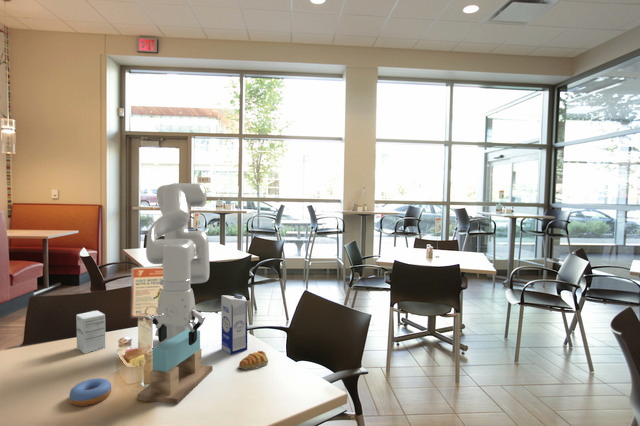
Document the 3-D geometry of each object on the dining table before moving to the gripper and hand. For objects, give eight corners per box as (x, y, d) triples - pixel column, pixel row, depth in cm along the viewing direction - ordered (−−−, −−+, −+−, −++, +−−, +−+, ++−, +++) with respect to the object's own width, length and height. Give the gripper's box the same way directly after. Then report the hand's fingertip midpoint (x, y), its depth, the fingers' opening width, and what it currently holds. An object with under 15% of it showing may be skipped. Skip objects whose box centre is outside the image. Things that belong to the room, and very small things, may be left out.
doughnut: (85, 386, 110) (84, 372, 109) (119, 389, 109) (118, 375, 109) (60, 409, 100) (59, 393, 99) (97, 412, 100) (97, 396, 99)
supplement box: (76, 348, 137) (75, 314, 136) (98, 342, 143) (98, 309, 142) (83, 354, 132) (82, 318, 132) (106, 348, 138) (105, 313, 137)
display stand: (137, 399, 104) (137, 372, 103) (178, 367, 123) (178, 344, 123) (177, 404, 101) (177, 377, 101) (212, 370, 121) (212, 347, 120)
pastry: (246, 373, 119) (246, 361, 119) (234, 367, 124) (234, 355, 124) (269, 364, 126) (269, 353, 126) (257, 358, 131) (257, 347, 131)
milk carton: (221, 348, 138) (221, 294, 137) (237, 344, 142) (237, 291, 141) (231, 355, 133) (230, 298, 132) (247, 349, 137) (247, 295, 136)
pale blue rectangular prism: (152, 369, 105) (152, 348, 104) (187, 347, 120) (187, 329, 120) (166, 372, 104) (166, 350, 103) (200, 349, 119) (199, 330, 119)
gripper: (142, 286, 109) (143, 344, 110) (197, 290, 106) (198, 350, 107) (158, 280, 116) (158, 334, 117) (210, 283, 113) (210, 339, 114)
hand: (177, 341), depth 112 cm, fingers open, 9 cm apart
